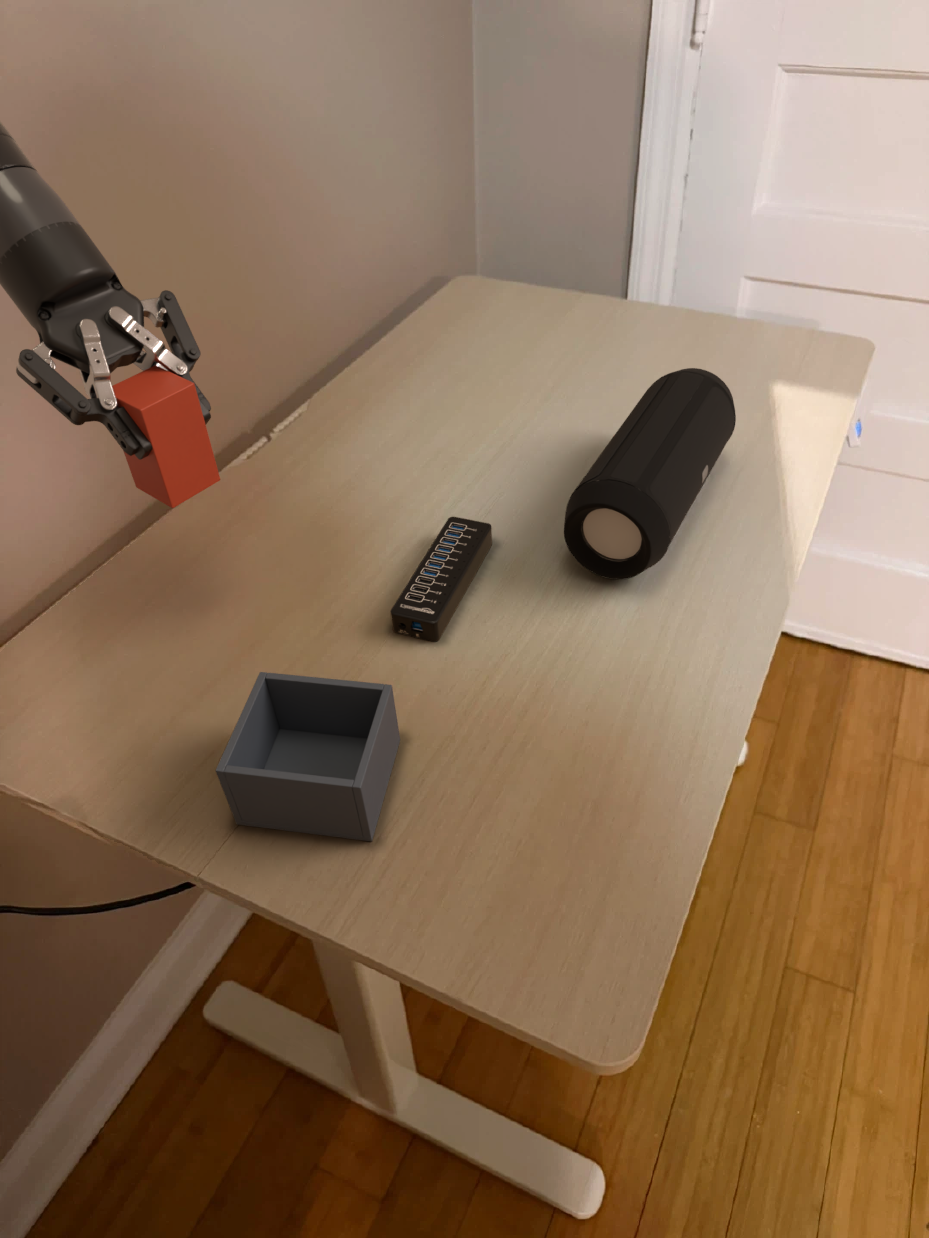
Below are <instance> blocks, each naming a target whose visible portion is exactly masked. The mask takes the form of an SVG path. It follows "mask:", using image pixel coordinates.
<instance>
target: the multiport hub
mask: <svg viewBox="0 0 929 1238" xmlns="http://www.w3.org/2000/svg"><path fill="white" fill-rule="evenodd" d="M492 530H493V528H492V524H491V523H489V522H483V521H479V520H473V519H470V518H469V519H468V518H463V517H459V516H450V517H448V518H447V520H446V521H445V523H444V525H443V526H442V528H441V530H440V531H439V533H438V534H437V536H436V537H435V539H434V540H433V542H432V543H431V545H430V547H429V548H428V550H427V551H426V553H425V555H424V556H423V558H422V559H421V561H420V563H419V565H418V566H417V567H416V569H415V571H414V572H413V574H412V576H411V577H410V579H409V580H408V582H407V583H406V584H405V586H404V588H403V590H402V592H401V593H400V595H399V596H398V598H397V599H396V600H395V602H394V604H393V606H392V607H391V609H390V612H389V613H390V619H391V625H392V626H391V627H392V631H393V632H394V633H396V634H399V635H404V636H409V637H412V638H417V639H419V640H424V641H428V642H433V643H436V642H438V641H440V639H441V637H442V636H443V634H444V632H445V630H446V629H447V627H448V624H449V623H450V621H451V619H452V618H453V616H454V614H455V612H456V611H457V608H458V607H459V606H460V603H461V601H462V600H463V598H464V596H465V595H466V592H467V591H468V589H469V587H470V586H471V584H472V582H473V580H474V578H475V576H476V574H477V573H478V571H479V570H480V567H481V565H482V564H483V562H484V560H485V558H486V557H487V554H488V553H489V551H490V549H491V547H492V545H493V535H492V534H493V531H492Z"/></svg>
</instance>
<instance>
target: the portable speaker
mask: <svg viewBox="0 0 929 1238" xmlns="http://www.w3.org/2000/svg"><path fill="white" fill-rule="evenodd" d="M736 416H737V415H736V407H735V402H734V397H733V394H732V392H731V390H730V388H729V386H728V385H727V384H726V383H725V381H724V380H723V379H721V378H720V376H718V375H717V374H715V373H713V372H711V371H708V370H706V369H702V368H697V367H689V368H688V367H687V368H682V369H678V370H676V371H672V372H668V373H666V374H664V375H663V376H661V377H659V378H658V379H656V380H655V381H654V382H653V383H652V384H651V385H650V386H649V387H648V388H647V390H646V391H645V392H644V393H643V395H642V396H641V398H639V400H638V402H637V403H636V405H635V406H634V407H633V409H632V410H631V411H630V413H629V414H628V416H627V417H626V419H624V421H623V422H622V423H621V425H620V427H619V428H618V429H617V431H616V432H615V434H614V435H613V436H612V438H611V439H610V440H609V442H608V443H607V444H606V446H605V447H604V449H603V450H602V452H601V453H600V455H599V456H598V457H597V458H596V460H595V461H594V463H593V464H592V466H591V467H590V468H589V469H588V471H587V472H586V474H585V475H584V476H583V478H582V479H581V481H580V482H579V483H578V485H577V486H576V487H575V489H574V490H573V492H572V493H571V495H570V497H569V498H568V501H567V503H566V508H565V514H564V524H563V525H564V526H563V536H564V541H565V545H566V547H567V548H568V551H569V553H570V554H571V555H572V557H573V558H574V559H575V560H576V561H577V563H579V564H580V565H581V566H582V567H583V568H584V569H586V570H588V571H589V572H590V573H593V574H595V575H596V576H598V577H602V578H606V579H610V580H626V579H627V580H628V579H630V578H631V579H632V578H634V577H636V576H638V575H640V574H642V573H643V572H645V571H647V570H648V569H650V568H652V567H653V566H655V565H656V564H658V563H659V562H660V561H661V560H662V559H663V558H664V557H665V555H666V554H667V551H668V549H669V546H670V545H671V543H672V541H673V540H674V538H675V536H676V534H677V532H679V531H678V530H679V529H680V527H681V526H682V524H683V522H684V519H685V518H686V516H687V514H688V513H689V511H690V509H691V507H692V506H693V504H694V502H695V500H696V499H697V497H698V495H699V493H700V492H701V489H702V488H703V487H704V484H705V483H706V481H707V479H708V477H709V476H710V474H711V472H712V470H713V468H714V467H715V465H716V463H717V462H718V459H719V457H720V456H721V454H722V453H723V450H724V449H725V447H726V445H727V444H728V442H729V441H730V440H731V438H732V436H733V433H734V431H735V427H736V420H737V417H736Z"/></svg>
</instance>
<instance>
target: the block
mask: <svg viewBox="0 0 929 1238" xmlns="http://www.w3.org/2000/svg"><path fill="white" fill-rule="evenodd" d="M195 384H196V383H195ZM195 384H194V383H193V382H191V381H188V380H186V379H184V378H182V377H180V376H178V375H175V374H173V373H171V372H169V371H167V370H165V369H162V368H160V367H158V366H156V365H155V366H153V367H151V368H149V369H146V370H144V371H143V370H141V371H140V372H138V373H136V374H134V375H132V376H130V377H127V378H125V379H123V380H122V381H120V382H117V383H114V384H112V387H113V390H114V394H115V397H116V400H117V406H118V407H119V408H120V407H122V406H123V407H124V408H125V410H126V411H127V412H128V414H129V415H130V416H131V418H132V419H133V420H134V422H135V423H136V424H137V426H138V427H139V428H140V430H141V431H142V432H143V434H144V435H145V436H146V438H147V439H148V440H149V442H150V443H151V445H152V451H151V452H150V454H149V455H148V456H147V457H145V458H143V459H141V460H139V459H138V458H137V457H136V456H135V454H134V455H132V456H130V455H128V454H127V453H125V452H124V451H123V453H124V457H125V460H126V463H127V465H128V468H129V471H130V474H131V476H132V480H133V483H134V486H135V487H136V489H138V490H140V491H142V492H144V493H145V494H147V495H149V496H150V497H152V498H154V499H156V500H157V501H159V502H160V503H161V504H164V505H165V506H167V507H169V508H171V509H174V508H176V507H177V506H179V505H181V504H183V503H185V502H186V501H188V500H190V499H192V498H193V497H195V496H196V495H198V494H200V493H201V492H203V491H205V490H207V489H208V488H210V487H211V486H213V485H215V484H217V483H218V482H220V481H221V477H220V473H219V468H218V465H217V462H216V458H215V454H214V451H213V447H212V443H211V439H210V436H209V431H208V429H207V424H206V425H205V421H204V417H203V414H202V410H201V406H200V402H199V399H198V395H197V391H196V388H195Z"/></svg>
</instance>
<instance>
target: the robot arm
mask: <svg viewBox="0 0 929 1238" xmlns="http://www.w3.org/2000/svg"><path fill="white" fill-rule="evenodd" d="M0 286H1V287H2V289H3V290H4V291H5V293H6V294H7V295H8V297H9V298H10V299H11V301H12V302H13V304H14V305H15V306H16V308H17V309H18V310H19V311H20V313H21V314H22V315H23V317H24V318H25V319H26V321H27V322H28V323H29V325H30V326H31V327H32V328H34V330H35V331H36V333H37V335H38V338H39V343H38V344H37V345H36V346H35V347H33V348H32V349H29V348H25V349H21V351H20V352H19V354H18V355H19V356H18V360H17V364H16V367H15V373H16V375H17V376H18V377H19V378H20V379H21V380H23V381H24V382H25V383H26V384H27V385H28V386H29V387H30V388H31V389H32V390H34V392H35V393H37V394H39V395H40V396H41V397H42V399H44V400H45V401H46V402H47V403H48V404H50V405H51V406H52V407H53V408H54V409H55V410H56V411H58V412H59V413H60V414H61V415H62V416H63V417H64V418H66V419H67V420H68V421H69V422H70V423H71V424H73V425H74V426H82V425H84V424H85V423H89V422H98V423H100V424H102V425H103V426H104V427H105V428H106V429H107V431H108V432H109V433H110V435H111V437H113V439H114V440H115V441H116V443H117V444H118V445H119V447H120V448H121V450H122V451H123V453H124V452H125V453H127V454H128V455H130V456H132V455H134V454H135V456H136V457H137V458H138V459H139V460H141V459H143V458H145V457H147V456H148V455H149V454H150V452H151V451H152V445H151V443H150V442H149V440H148V439H147V438H146V436H145V435H144V434H143V432H142V431H141V430H140V428H139V427H138V426H137V424H136V423H135V422H134V420H133V419H132V418H131V416H130V415H129V414H128V412H127V411H126V410H125V408H124V407H123V406H122V407H120V408H119V407H118V406H117V400H116V397H115V394H114V390H113V387H112V386H113V383H112V381H111V374H112V373H113V372H114V371H116V369H118V368H123V367H127V366H130V365H132V364H133V365H134V366H136V367H137V368H139V370H141V371H144V370H146V369H149V368H151V367H153V366H155V365H156V366H158V367H160V368H162V369H165V370H167V371H169V372H171V373H173V374H175V375H178V376H180V377H182V378H184V379H186V380H188V381H191V382H193V383H194V384H195V388H196V391H197V395H198V399H199V402H200V406H201V410H202V414H203V417H204V421H205V425H206V426H207V424H208V423H209V421H210V420H211V418H212V415H211V410H212V406H211V403H210V401H209V400H208V399H207V397H206V396H205V395H204V393H203V392H202V390H201V388H199V386H198V384H196V382H195V380H193V377H192V376H191V373H190V372H192V371H193V369H194V367H195V364H196V362H198V361H199V359H200V357H201V356H202V355H201V349H200V347H199V345H198V343H197V340H196V339H195V337H194V334H193V333H192V330H191V328H190V326H189V323H188V321H187V319H186V317H185V315H184V312H183V310H182V307H181V306H180V303H179V302H178V299H177V297H176V295H175V294H174V292H172V291H170V290H166V289H165V290H162V291H161V292H160V294H159V296H158V297H152V298H145V299H140V298H139V297H137V296H136V295H134V294H132V293H131V292H130V291H128V290H127V289H126V288H125V287H124V286H123V284H122V282H121V281H120V279H119V277H118V275H117V273H116V271H115V270H114V269H113V267H112V266H111V264H110V263H109V262H108V260H107V259H106V258H105V256H104V255H103V253H102V252H101V251H100V250H99V248H98V247H97V245H96V244H95V242H94V240H92V238H91V237H90V235H89V234H88V233H87V231H86V230H85V229H84V227H83V226H82V224H81V223H80V222H79V221H78V218H77V217H75V214H74V213H73V212H72V211H71V210H70V208H69V207H68V206H67V204H66V203H65V201H64V200H63V199H62V198H61V196H60V195H59V194H58V193H57V191H56V190H55V189H54V188H52V186H51V185H49V184H48V182H47V181H46V180H45V179H44V178H43V177H42V175H41V174H40V173H39V172H38V171H37V169H36V168H35V166H34V165H33V164H32V162H31V161H30V159H29V158H28V157H27V155H26V154H25V153H24V151H23V150H22V148H21V147H20V146H19V144H18V143H17V141H16V139H15V138H14V137H13V135H11V133H10V132H9V129H7V127H6V126H5V125H4V124H3V122H2V121H0ZM145 318H147V319H149V320H150V321H151V323H152V324H153V326H154V328H160V330H161V332H162V334H163V336H164V339H165V341H166V344H167V345H168V347H169V350H168V349H167V347H166V345H165V343H164V342H163V341H162V340H161V339H159V338H158V337H157V336H156V335H154V334H153V333H152V332H150V330H149V329H146V328H145ZM52 358H53V359H54V360H57V361H59V362H62V363H64V364H65V365H68V366H71V367H73V368H75V369H78V372H79V376H80V378H81V383H82V385H83V389H84V393H85V394H86V395H87V396H88V398H87V397H86V396H84V394H83V393H81V391H79V390H78V389H77V388H76V387H75V386H74V385H72V384H71V383H70V382H69V381H68V380H67V379H65V378H64V376H62V374H60V373H59V372H58V371H56V369H57V366H56V363H55V361H54V360H53V359H52Z"/></svg>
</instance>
